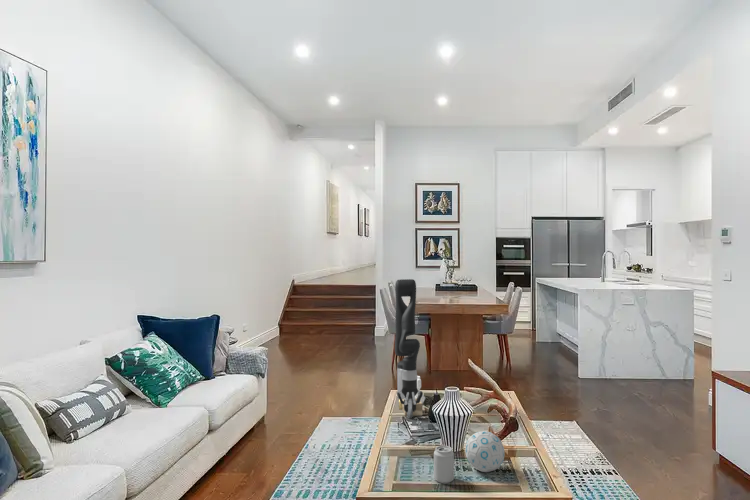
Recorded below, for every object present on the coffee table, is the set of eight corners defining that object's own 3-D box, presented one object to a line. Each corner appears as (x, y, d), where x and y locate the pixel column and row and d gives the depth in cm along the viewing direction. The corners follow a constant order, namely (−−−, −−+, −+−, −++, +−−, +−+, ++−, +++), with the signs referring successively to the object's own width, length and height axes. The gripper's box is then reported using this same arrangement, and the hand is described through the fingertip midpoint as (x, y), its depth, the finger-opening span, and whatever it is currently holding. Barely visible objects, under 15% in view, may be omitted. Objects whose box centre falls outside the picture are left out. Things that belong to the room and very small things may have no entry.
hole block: (402, 410, 277) (402, 399, 277) (419, 409, 278) (418, 398, 278) (405, 416, 269) (405, 404, 268) (422, 415, 270) (422, 403, 269)
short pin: (398, 408, 281) (398, 398, 281) (403, 407, 282) (403, 398, 282) (399, 409, 278) (399, 400, 278) (404, 409, 279) (404, 400, 279)
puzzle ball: (457, 469, 206) (457, 431, 205) (481, 458, 215) (481, 422, 215) (488, 482, 194) (488, 442, 194) (512, 470, 204) (512, 433, 203)
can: (440, 473, 202) (440, 442, 202) (457, 479, 197) (457, 447, 197) (430, 480, 196) (429, 448, 196) (447, 486, 191) (447, 454, 191)
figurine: (422, 400, 295) (421, 373, 295) (426, 405, 286) (425, 378, 286) (409, 400, 294) (409, 374, 294) (413, 405, 285) (412, 378, 285)
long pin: (406, 416, 268) (406, 397, 267) (412, 416, 268) (412, 397, 268) (407, 418, 265) (407, 399, 264) (413, 418, 265) (413, 398, 265)
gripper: (421, 375, 270) (421, 408, 271) (394, 376, 269) (395, 409, 269) (424, 379, 263) (424, 413, 263) (397, 380, 261) (397, 414, 262)
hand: (409, 411), depth 266 cm, fingers open, 3 cm apart
